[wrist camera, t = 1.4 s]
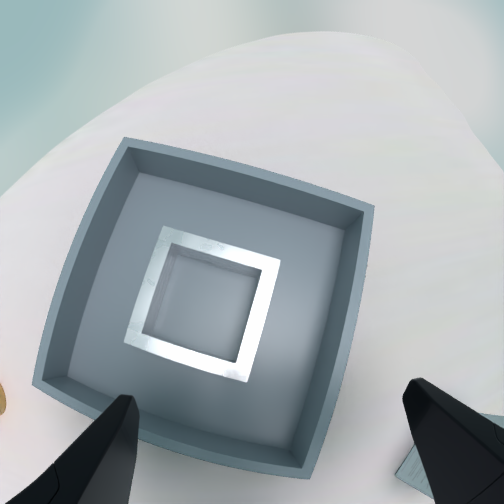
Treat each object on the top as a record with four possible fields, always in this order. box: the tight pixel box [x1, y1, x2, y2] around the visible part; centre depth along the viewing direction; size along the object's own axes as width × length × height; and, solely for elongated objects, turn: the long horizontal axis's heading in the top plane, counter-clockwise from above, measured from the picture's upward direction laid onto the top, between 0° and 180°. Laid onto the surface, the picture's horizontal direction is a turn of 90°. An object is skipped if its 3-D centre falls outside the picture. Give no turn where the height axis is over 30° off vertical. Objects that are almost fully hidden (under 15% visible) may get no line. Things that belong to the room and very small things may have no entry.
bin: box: [32, 137, 375, 479], centre depth 21 cm, size 20×20×5 cm
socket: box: [124, 226, 281, 382], centre depth 21 cm, size 8×8×3 cm
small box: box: [395, 413, 504, 499], centre depth 16 cm, size 8×6×10 cm
